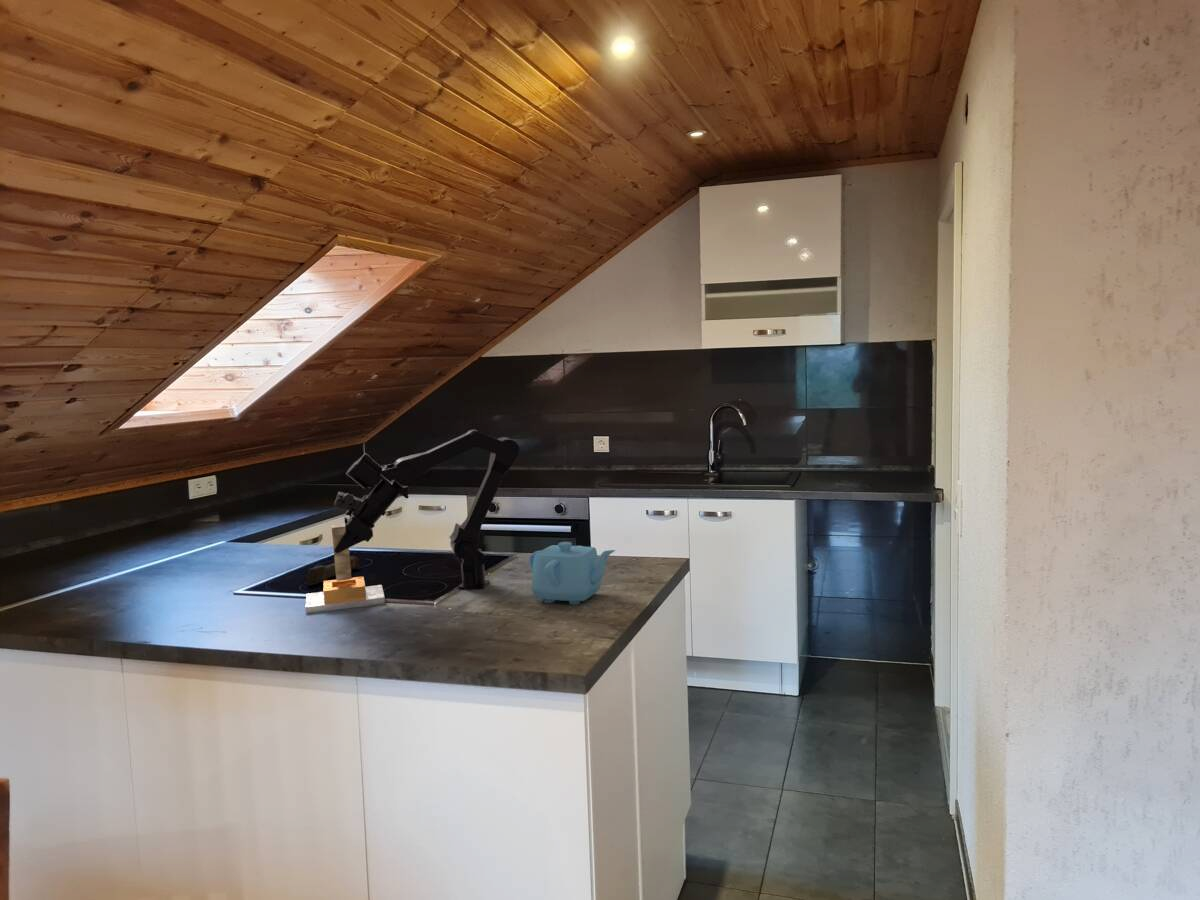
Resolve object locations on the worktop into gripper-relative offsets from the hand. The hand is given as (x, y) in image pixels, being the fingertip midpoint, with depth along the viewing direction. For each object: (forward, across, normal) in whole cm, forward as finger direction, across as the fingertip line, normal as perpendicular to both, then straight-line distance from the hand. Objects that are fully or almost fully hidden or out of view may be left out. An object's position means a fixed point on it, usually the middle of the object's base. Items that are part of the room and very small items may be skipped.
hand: (335, 550), depth 210 cm
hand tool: (+10, -26, +9) cm, 29 cm away
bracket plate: (+8, 0, +10) cm, 13 cm away
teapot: (-28, +22, +47) cm, 59 cm away
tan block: (+4, 0, +6) cm, 7 cm away
